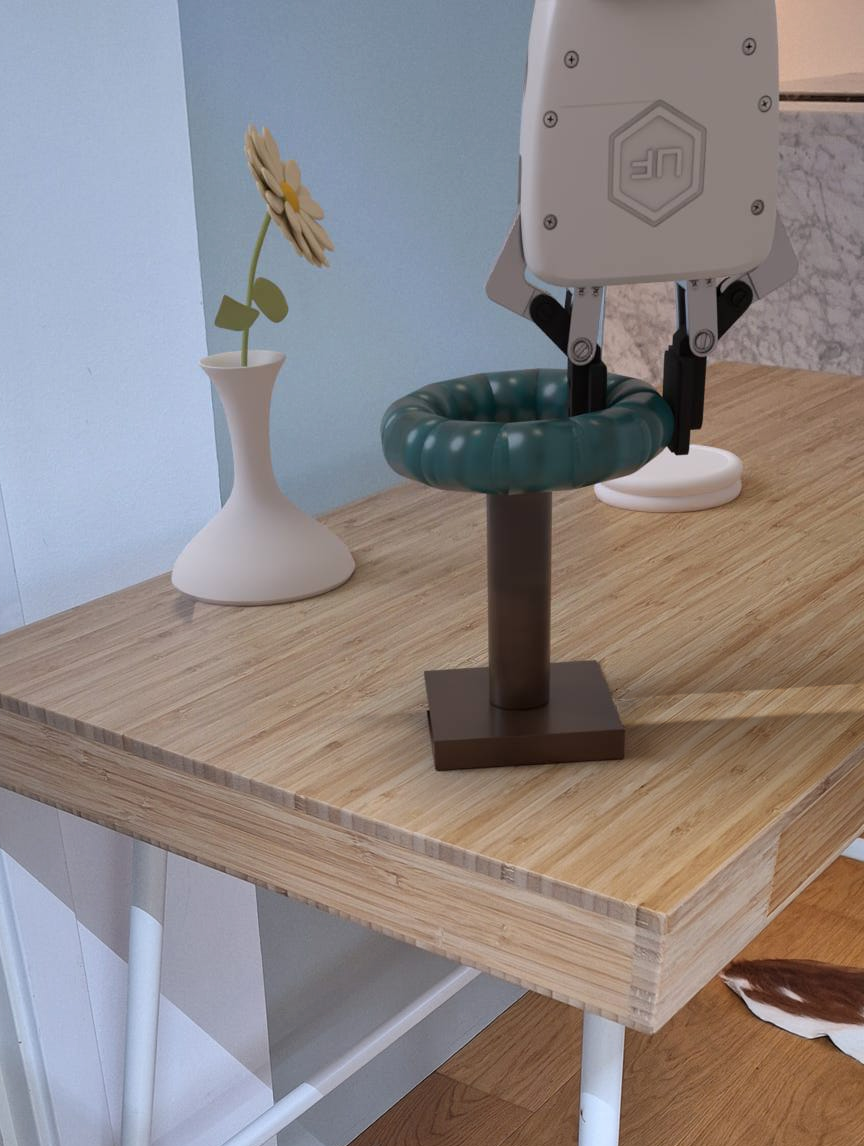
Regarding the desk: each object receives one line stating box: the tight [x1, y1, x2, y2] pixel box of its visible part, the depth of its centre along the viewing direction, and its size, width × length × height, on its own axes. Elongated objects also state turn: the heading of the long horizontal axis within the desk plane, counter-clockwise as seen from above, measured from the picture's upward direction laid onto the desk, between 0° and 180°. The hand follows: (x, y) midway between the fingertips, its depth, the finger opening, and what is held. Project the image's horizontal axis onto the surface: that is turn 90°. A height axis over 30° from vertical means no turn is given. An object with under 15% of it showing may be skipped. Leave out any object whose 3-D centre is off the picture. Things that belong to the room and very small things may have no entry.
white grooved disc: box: [593, 443, 744, 514], centre depth 101 cm, size 10×10×4 cm
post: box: [423, 492, 626, 771], centre depth 70 cm, size 9×9×14 cm
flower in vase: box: [170, 123, 356, 607], centre depth 85 cm, size 13×11×25 cm
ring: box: [379, 367, 674, 495], centre depth 65 cm, size 13×13×3 cm
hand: (633, 446), depth 66 cm, fingers closed on ring, 3 cm apart
